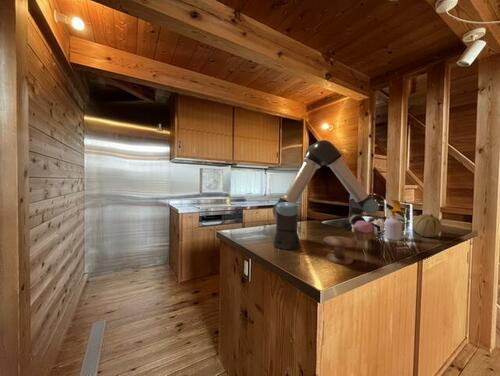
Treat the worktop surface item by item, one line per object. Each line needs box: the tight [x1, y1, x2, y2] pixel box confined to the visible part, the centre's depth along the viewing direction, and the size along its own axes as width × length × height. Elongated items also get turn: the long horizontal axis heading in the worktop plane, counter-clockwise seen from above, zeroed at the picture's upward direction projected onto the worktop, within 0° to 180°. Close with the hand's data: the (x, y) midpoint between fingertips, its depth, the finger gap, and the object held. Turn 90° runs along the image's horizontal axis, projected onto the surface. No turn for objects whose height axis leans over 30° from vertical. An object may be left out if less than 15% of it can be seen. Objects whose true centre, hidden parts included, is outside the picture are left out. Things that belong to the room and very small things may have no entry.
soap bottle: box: [383, 198, 403, 241], centre depth 136 cm, size 9×9×25 cm
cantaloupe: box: [412, 214, 443, 238], centre depth 140 cm, size 15×15×15 cm
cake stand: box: [322, 235, 358, 265], centre depth 98 cm, size 14×14×9 cm
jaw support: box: [370, 218, 385, 234], centre depth 155 cm, size 12×9×10 cm
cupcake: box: [354, 220, 373, 242], centre depth 107 cm, size 9×9×10 cm
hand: (364, 230), depth 103 cm, fingers closed on cupcake, 9 cm apart
